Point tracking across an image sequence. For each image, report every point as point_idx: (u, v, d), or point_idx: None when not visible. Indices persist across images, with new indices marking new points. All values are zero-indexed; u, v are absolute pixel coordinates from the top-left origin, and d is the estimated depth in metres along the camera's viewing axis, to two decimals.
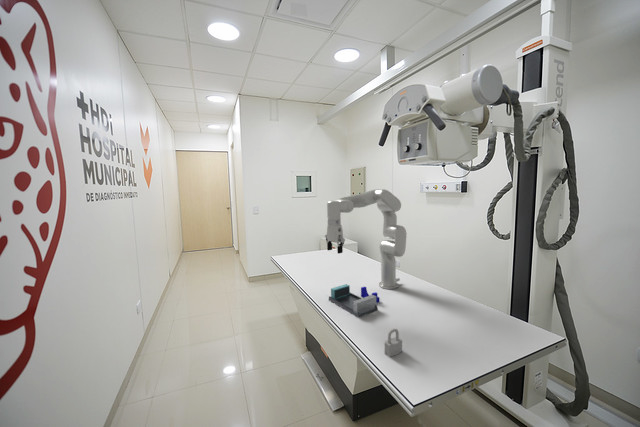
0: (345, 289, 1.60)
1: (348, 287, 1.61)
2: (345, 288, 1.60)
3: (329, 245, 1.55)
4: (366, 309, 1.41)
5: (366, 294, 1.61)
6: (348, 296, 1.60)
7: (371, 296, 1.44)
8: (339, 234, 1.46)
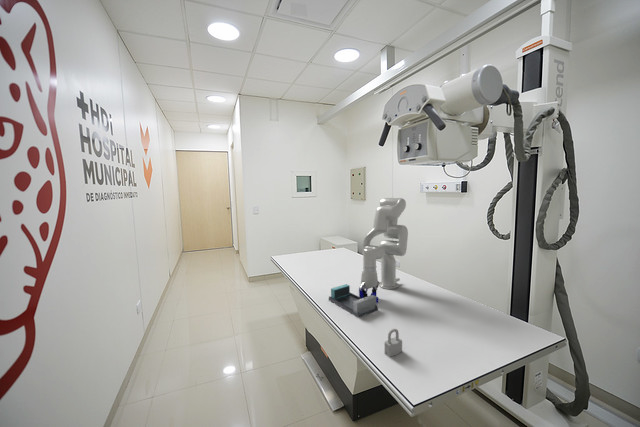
0: (345, 289, 1.60)
1: (348, 287, 1.61)
2: (345, 288, 1.60)
3: None
4: (366, 309, 1.41)
5: None
6: (348, 296, 1.60)
7: (371, 296, 1.44)
8: None
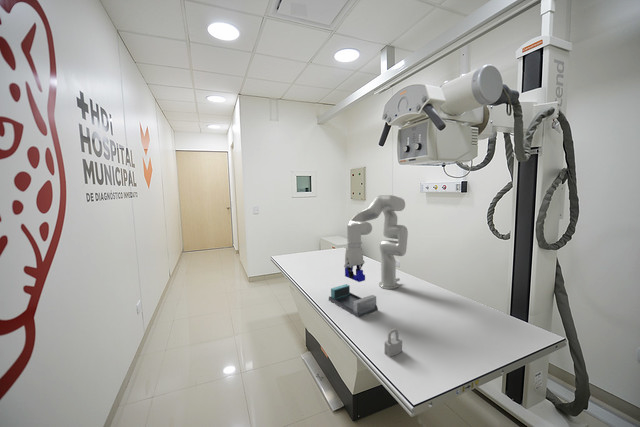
0: (345, 289, 1.60)
1: (348, 287, 1.61)
2: (345, 288, 1.60)
3: None
4: (366, 309, 1.41)
5: None
6: (348, 296, 1.60)
7: (371, 296, 1.44)
8: None
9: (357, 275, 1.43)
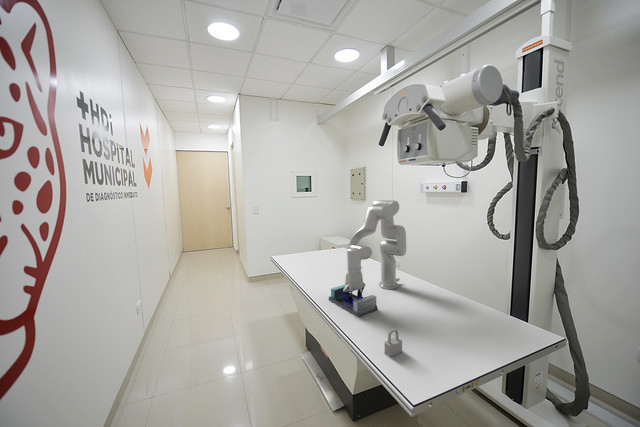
0: None
1: None
2: None
3: None
4: (366, 309, 1.41)
5: None
6: None
7: (371, 296, 1.44)
8: None
9: None
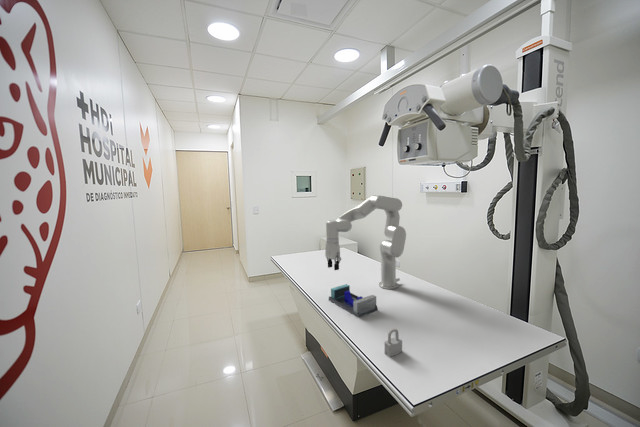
0: (345, 289, 1.60)
1: (348, 287, 1.61)
2: (345, 288, 1.60)
3: None
4: (366, 309, 1.41)
5: (350, 299, 1.51)
6: None
7: (371, 296, 1.44)
8: None
9: None
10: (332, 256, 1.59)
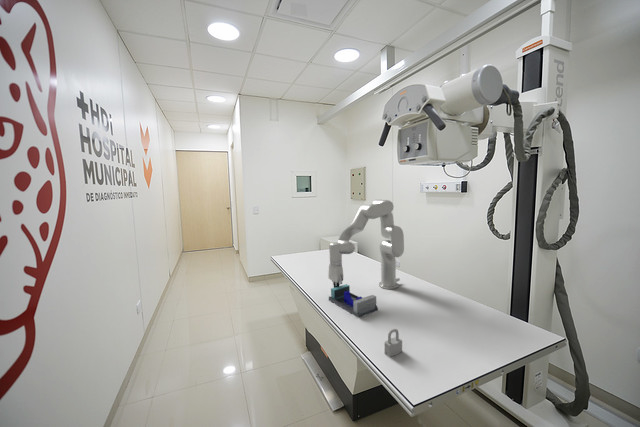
0: (345, 289, 1.60)
1: (348, 287, 1.61)
2: (345, 288, 1.60)
3: None
4: (366, 309, 1.41)
5: (350, 299, 1.50)
6: None
7: (371, 296, 1.44)
8: None
9: None
10: (335, 279, 1.58)
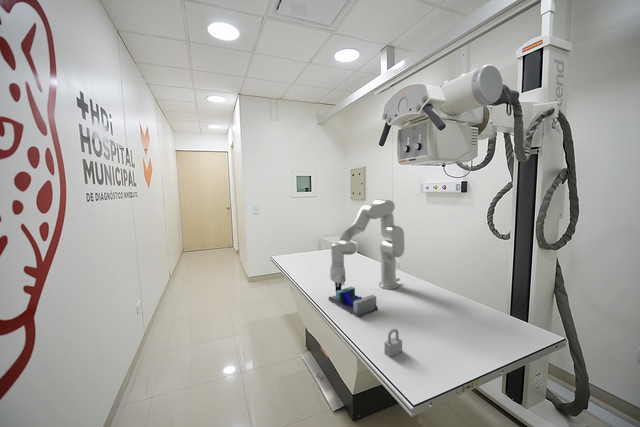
0: (350, 292, 1.56)
1: (353, 289, 1.57)
2: (350, 291, 1.56)
3: None
4: (366, 309, 1.41)
5: (349, 299, 1.50)
6: None
7: (371, 296, 1.44)
8: None
9: None
10: (337, 280, 1.57)
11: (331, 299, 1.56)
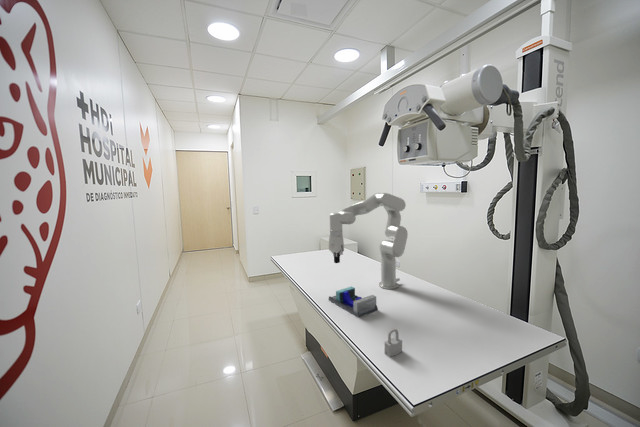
0: (350, 292, 1.56)
1: (353, 289, 1.57)
2: (350, 291, 1.56)
3: None
4: (366, 309, 1.41)
5: (349, 299, 1.50)
6: None
7: (371, 296, 1.44)
8: None
9: None
10: (336, 249, 1.56)
11: (331, 299, 1.56)
